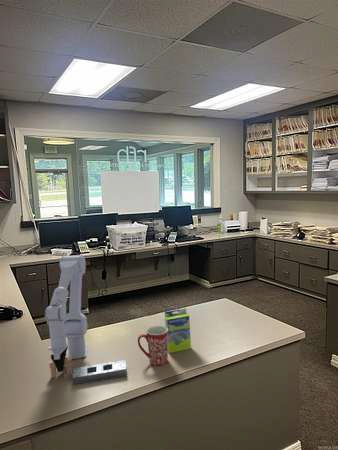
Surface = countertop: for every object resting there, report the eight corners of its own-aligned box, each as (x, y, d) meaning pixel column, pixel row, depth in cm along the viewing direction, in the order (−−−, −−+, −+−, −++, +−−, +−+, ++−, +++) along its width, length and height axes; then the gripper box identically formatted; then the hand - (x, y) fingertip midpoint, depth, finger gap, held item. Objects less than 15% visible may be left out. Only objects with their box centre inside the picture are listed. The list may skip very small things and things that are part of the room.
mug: (170, 355, 140) (168, 324, 139) (169, 366, 131) (167, 334, 130) (140, 356, 141) (138, 326, 139) (138, 368, 132) (135, 335, 130)
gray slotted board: (74, 375, 129) (73, 368, 129) (125, 367, 133) (125, 359, 133) (73, 385, 122) (72, 378, 122) (127, 376, 126) (126, 368, 126)
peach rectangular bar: (51, 374, 131) (50, 360, 130) (72, 371, 133) (71, 356, 132) (50, 377, 129) (49, 363, 128) (72, 374, 130) (70, 359, 130)
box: (169, 353, 142) (166, 315, 140) (166, 349, 145) (163, 311, 144) (191, 348, 145) (189, 310, 143) (188, 344, 149) (186, 307, 147)
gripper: (49, 329, 135) (53, 360, 137) (44, 345, 121) (47, 379, 123) (67, 326, 137) (70, 358, 138) (63, 342, 123) (67, 376, 124)
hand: (61, 368), depth 130 cm, fingers open, 4 cm apart
